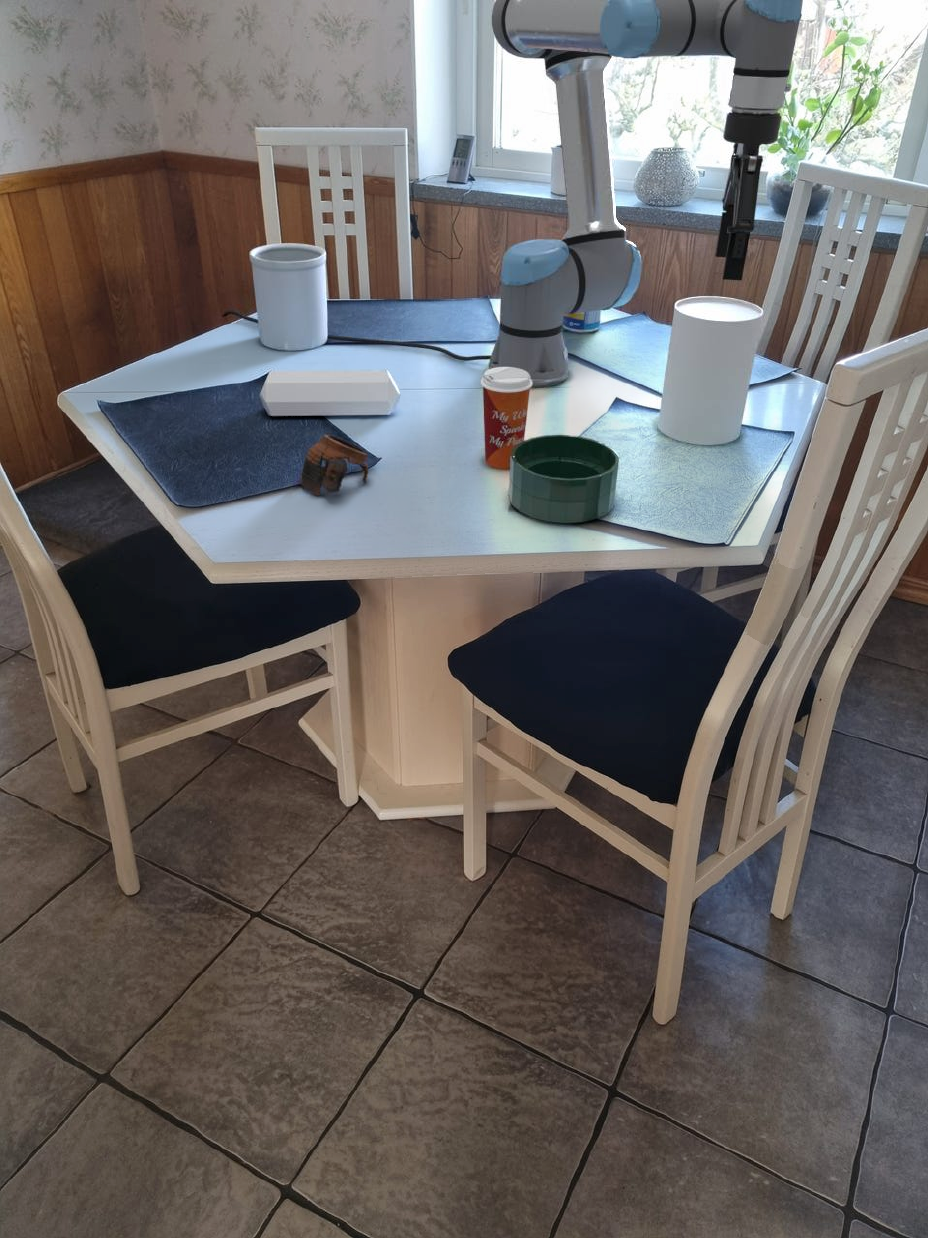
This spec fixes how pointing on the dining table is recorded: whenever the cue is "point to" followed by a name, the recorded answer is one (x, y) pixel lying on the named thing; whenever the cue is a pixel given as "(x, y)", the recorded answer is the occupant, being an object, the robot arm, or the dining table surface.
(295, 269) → the utensil holder
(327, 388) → the crystal
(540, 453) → the green pet bowl
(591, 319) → the beverage bottle
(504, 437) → the paper cup
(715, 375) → the canister
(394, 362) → the dining table surface
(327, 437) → the leather tool belt
